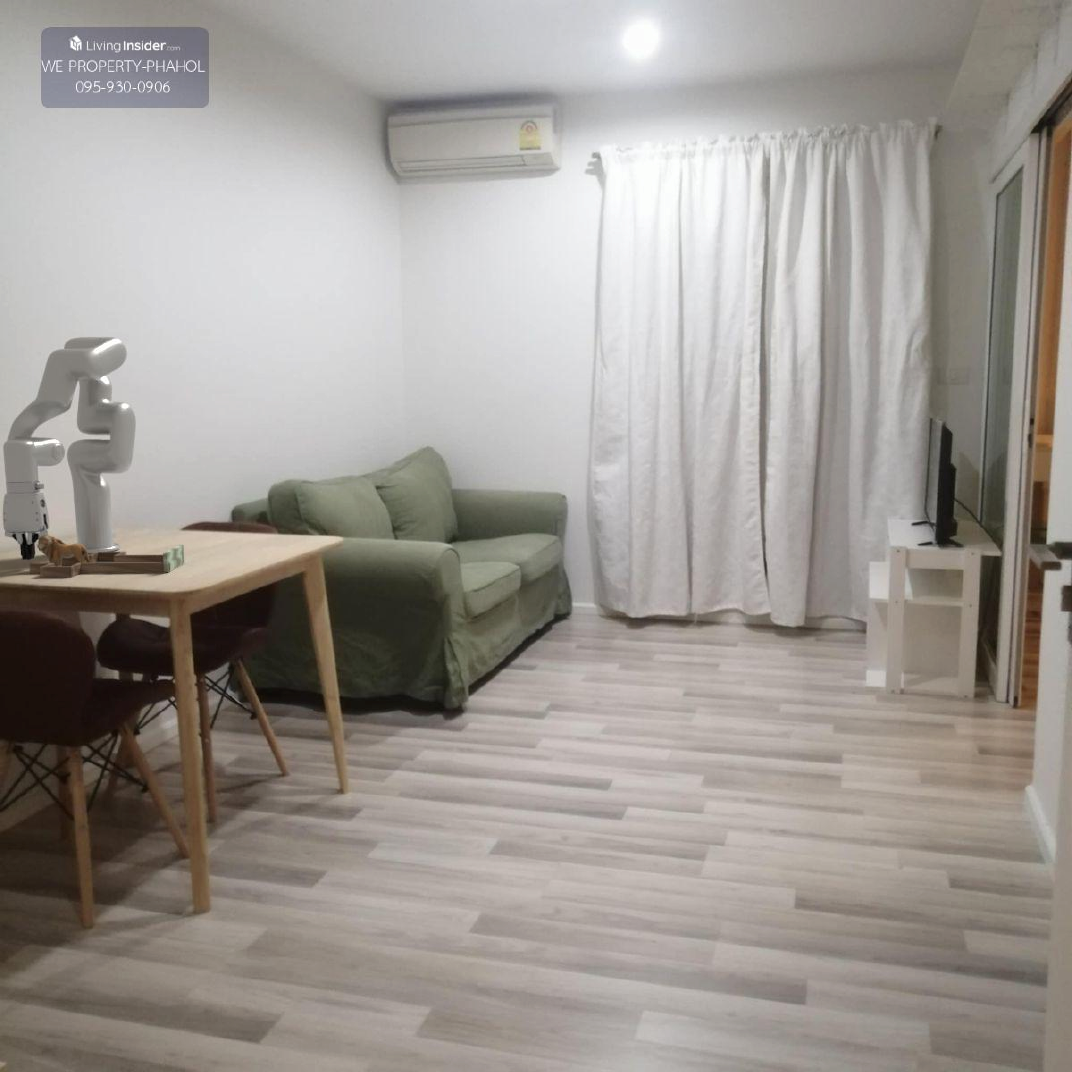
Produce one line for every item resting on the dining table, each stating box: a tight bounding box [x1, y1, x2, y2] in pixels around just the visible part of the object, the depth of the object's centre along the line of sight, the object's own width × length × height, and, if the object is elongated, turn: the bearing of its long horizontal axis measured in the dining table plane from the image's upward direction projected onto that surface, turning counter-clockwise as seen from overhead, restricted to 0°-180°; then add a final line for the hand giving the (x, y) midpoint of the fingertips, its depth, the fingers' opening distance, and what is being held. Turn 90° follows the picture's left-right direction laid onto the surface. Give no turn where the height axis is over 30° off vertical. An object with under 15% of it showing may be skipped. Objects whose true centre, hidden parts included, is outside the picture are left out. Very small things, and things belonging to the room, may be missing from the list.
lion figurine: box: [36, 534, 92, 566], centre depth 268 cm, size 15×5×9 cm, turn 93°
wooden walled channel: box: [29, 544, 185, 578], centre depth 268 cm, size 22×35×5 cm, turn 91°
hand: (28, 558), depth 268 cm, fingers closed
